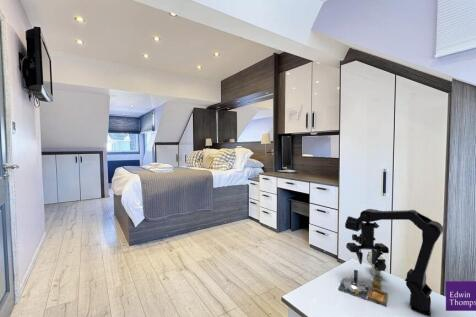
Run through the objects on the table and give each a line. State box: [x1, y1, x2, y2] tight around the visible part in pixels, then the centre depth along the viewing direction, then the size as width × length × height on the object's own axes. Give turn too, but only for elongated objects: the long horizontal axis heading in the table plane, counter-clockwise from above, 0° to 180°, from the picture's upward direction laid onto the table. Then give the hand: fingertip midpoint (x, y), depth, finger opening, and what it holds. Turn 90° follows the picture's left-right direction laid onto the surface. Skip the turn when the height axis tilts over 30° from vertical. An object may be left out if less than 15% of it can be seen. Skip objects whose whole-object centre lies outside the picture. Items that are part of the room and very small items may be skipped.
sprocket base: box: [337, 283, 370, 301], centre depth 112 cm, size 12×12×1 cm
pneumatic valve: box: [366, 251, 387, 277], centre depth 124 cm, size 6×12×12 cm, turn 174°
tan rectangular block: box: [371, 276, 382, 291], centre depth 113 cm, size 4×5×4 cm
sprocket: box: [339, 269, 369, 295], centre depth 112 cm, size 12×12×6 cm
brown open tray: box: [366, 286, 389, 307], centre depth 105 cm, size 7×9×2 cm
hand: (366, 264), depth 115 cm, fingers open, 6 cm apart
